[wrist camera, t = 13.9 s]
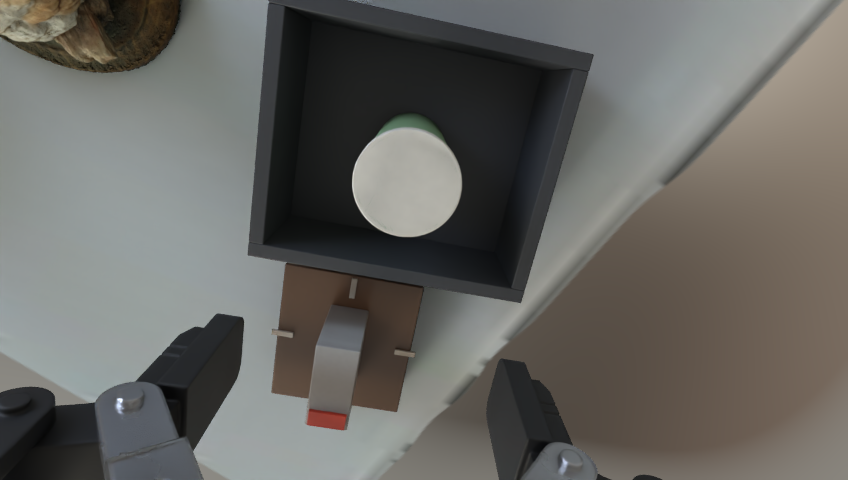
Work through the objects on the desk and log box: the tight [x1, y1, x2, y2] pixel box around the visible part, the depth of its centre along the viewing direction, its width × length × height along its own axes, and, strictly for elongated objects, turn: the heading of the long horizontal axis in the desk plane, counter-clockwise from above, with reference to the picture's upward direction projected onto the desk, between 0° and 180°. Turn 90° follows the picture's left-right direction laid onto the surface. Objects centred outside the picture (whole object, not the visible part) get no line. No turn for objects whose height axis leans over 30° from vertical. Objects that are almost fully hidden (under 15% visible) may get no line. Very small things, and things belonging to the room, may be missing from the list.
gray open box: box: [248, 0, 593, 303], centre depth 27 cm, size 14×16×7 cm
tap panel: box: [271, 262, 424, 412], centre depth 33 cm, size 10×10×3 cm
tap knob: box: [305, 305, 369, 430], centre depth 29 cm, size 6×2×5 cm, turn 169°
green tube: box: [352, 113, 462, 237], centre depth 25 cm, size 5×5×11 cm
